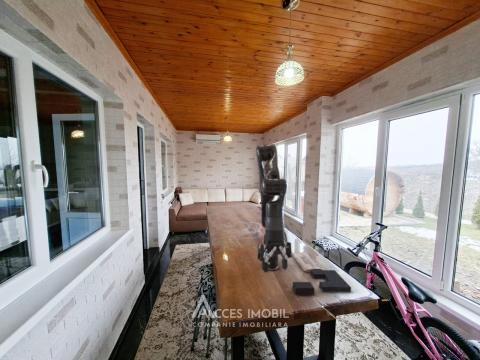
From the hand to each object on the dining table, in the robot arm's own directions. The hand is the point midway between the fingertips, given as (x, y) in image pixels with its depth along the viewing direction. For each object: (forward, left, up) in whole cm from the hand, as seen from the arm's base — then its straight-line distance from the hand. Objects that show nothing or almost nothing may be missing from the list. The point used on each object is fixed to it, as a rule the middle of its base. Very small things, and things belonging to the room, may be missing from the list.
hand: (275, 270), depth 75 cm
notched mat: (-27, +35, -21) cm, 49 cm away
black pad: (-19, +18, -21) cm, 33 cm away
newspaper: (-48, +31, -21) cm, 61 cm away
